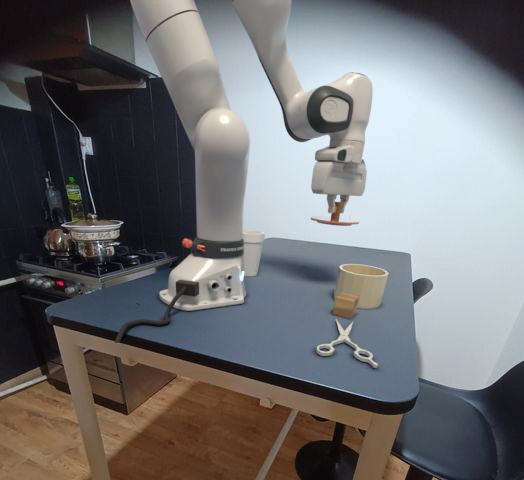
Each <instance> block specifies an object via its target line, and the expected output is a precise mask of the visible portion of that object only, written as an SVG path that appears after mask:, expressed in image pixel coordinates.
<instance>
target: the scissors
mask: <svg viewBox="0 0 524 480" xmlns="http://www.w3.org/2000/svg"><path fill="white" fill-rule="evenodd" d="M335 321H336V326H337V329H338V333H339V336H338V338H337V339H336V340H331V342H330V343H322V344H319V345H317V346H316V351H315V352H316V353H317V354H318V355H319V356H322V357H330V356H332V355H333V354H334V353H335V348H334V347H333V346H336V345H338V344H342V343H343V344H344V343H345V344H347V345H349V346H350V347H351V348H353V349H354V351H353V357H354V358H355V359H357V360H359V361H360V362H364V363H368V364H369V365H371V367H372V369H377V368H378V365H379V364H378V363H377V362H375V361H374V360H373V357H374V355H373V353H372V352H371V351H369V350H366V349H363V348H361V347H359V345H358V344H356V343H354V342H352V341H351V338H350V336H349V335H350V332H351V331H352V327H353V325H354V321H352V322H351V323H350V324H349V325H348V326H347V327H346V329H345V330H344V328H343V327H342V325H341V323H340V322H339V321H338V319H337V318H335ZM321 349H327V350H328V351H323V350H321ZM360 354H362V355H365V356H367V357H365V356H362V355H360Z"/></svg>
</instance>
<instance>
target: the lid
mask: <svg viewBox="0 0 524 480" xmlns="http://www.w3.org/2000/svg"><path fill="white" fill-rule="evenodd" d="M341 205H342V202H340V201H336V200H335V206H336V207H337V209H336V213H330V216H321V215H320V216H318V215H316V216H311V217H310V220H311V221H315V222H316V223H318V224H322V225H329V226H340V227H350V226H352V225H360V221H359V220H357V219H353V218H345V217H341V213H340V211H341Z"/></svg>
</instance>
